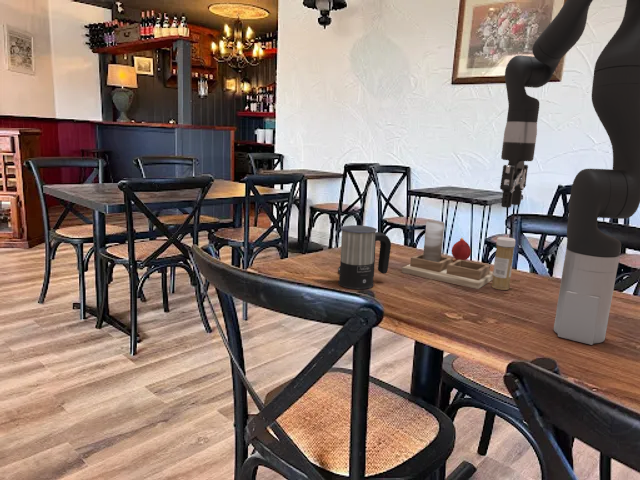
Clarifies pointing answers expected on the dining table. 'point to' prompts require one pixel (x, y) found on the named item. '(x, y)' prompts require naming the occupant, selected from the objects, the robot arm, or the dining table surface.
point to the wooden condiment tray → (446, 262)
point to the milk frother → (361, 256)
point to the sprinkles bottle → (503, 263)
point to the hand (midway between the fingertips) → (510, 205)
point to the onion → (461, 250)
